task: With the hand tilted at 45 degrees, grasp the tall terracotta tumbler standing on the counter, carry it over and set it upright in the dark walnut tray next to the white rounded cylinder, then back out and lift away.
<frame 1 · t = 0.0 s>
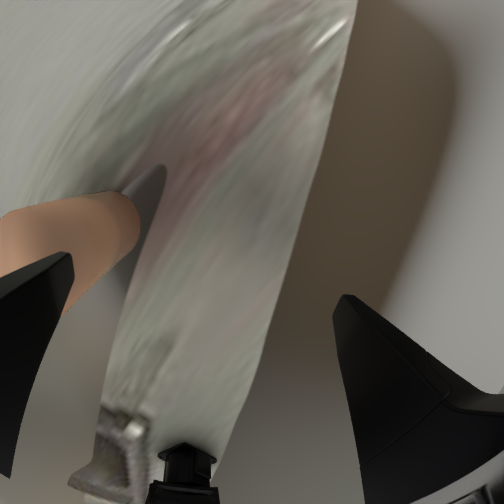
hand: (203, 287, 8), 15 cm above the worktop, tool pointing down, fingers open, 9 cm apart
terracotta tumbler: (109, 224, 22), on the worktop
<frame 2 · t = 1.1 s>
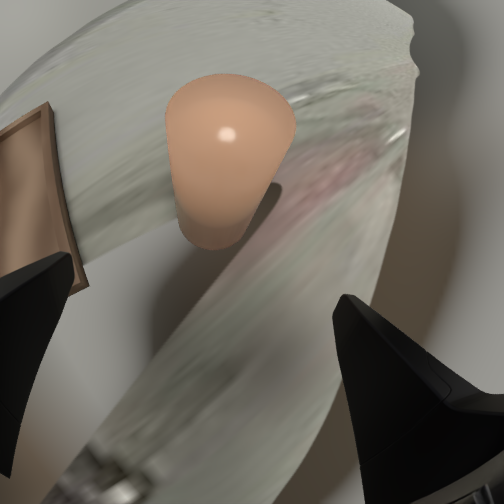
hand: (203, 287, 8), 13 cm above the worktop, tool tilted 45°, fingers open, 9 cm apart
walnut tray: (2, 216, 19), on the worktop
terracotta tumbler: (213, 215, 23), on the worktop
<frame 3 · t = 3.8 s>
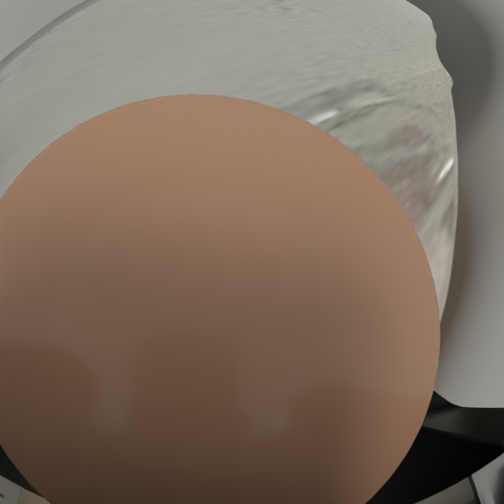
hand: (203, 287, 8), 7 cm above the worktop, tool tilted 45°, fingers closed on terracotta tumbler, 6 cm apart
terracotta tumbler: (198, 330, 14), on the worktop, touching gripper
when the fingers open (8 cm above the worktop, at t = 8.3 s): terracotta tumbler stays where it is, resting on walnut tray.
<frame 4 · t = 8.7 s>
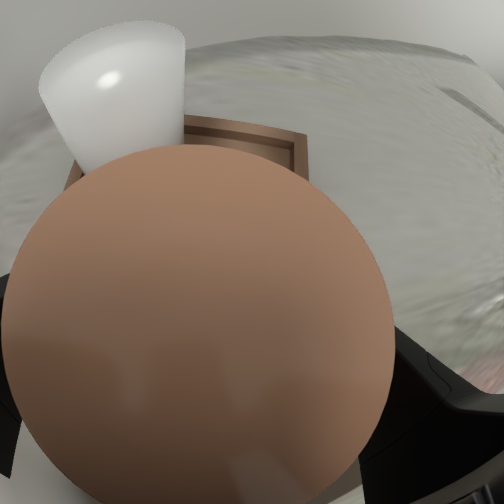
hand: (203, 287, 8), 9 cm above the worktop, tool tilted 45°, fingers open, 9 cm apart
white rounded cylinder: (140, 177, 17), point 1 cm above the worktop, touching walnut tray
walnut tray: (170, 276, 17), on the worktop
terracotta tumbler: (197, 331, 15), point 1 cm above the worktop, touching walnut tray
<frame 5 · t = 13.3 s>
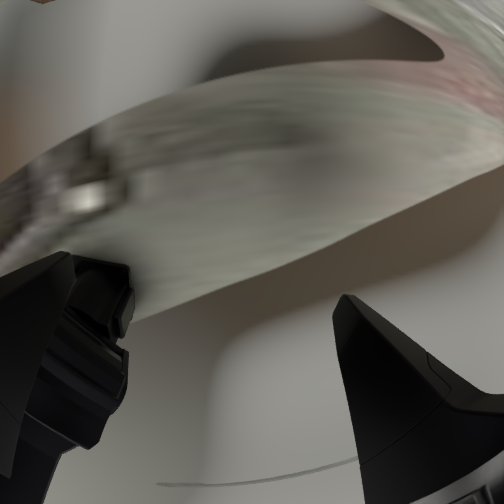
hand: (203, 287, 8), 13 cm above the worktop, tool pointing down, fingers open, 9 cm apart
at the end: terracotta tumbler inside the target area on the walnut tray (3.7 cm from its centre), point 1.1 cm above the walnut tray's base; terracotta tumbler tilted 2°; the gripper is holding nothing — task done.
